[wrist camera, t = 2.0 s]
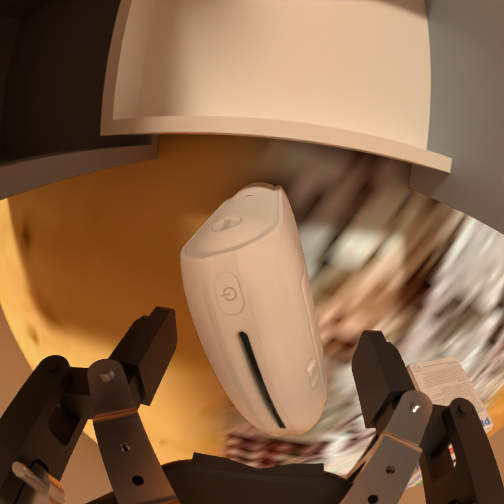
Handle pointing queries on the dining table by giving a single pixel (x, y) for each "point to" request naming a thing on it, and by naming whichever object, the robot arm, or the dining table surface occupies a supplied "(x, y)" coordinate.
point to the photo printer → (257, 310)
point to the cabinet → (57, 93)
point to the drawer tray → (325, 82)
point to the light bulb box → (445, 393)
